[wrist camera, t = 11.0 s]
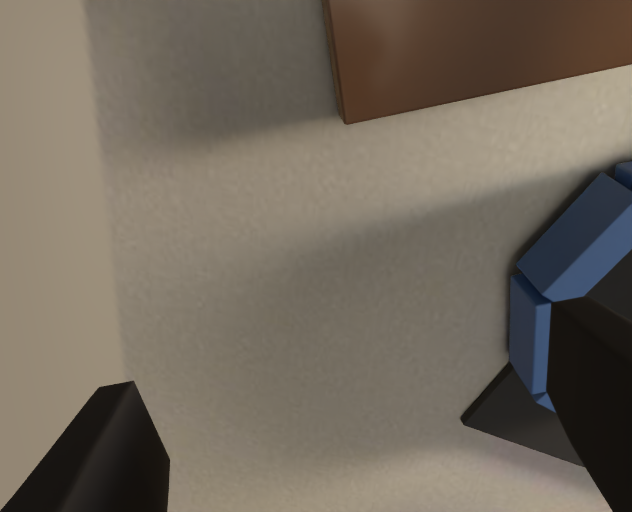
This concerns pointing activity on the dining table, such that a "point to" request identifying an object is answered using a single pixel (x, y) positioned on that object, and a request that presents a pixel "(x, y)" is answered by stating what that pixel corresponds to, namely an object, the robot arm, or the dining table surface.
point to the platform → (464, 48)
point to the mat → (518, 404)
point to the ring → (567, 270)
